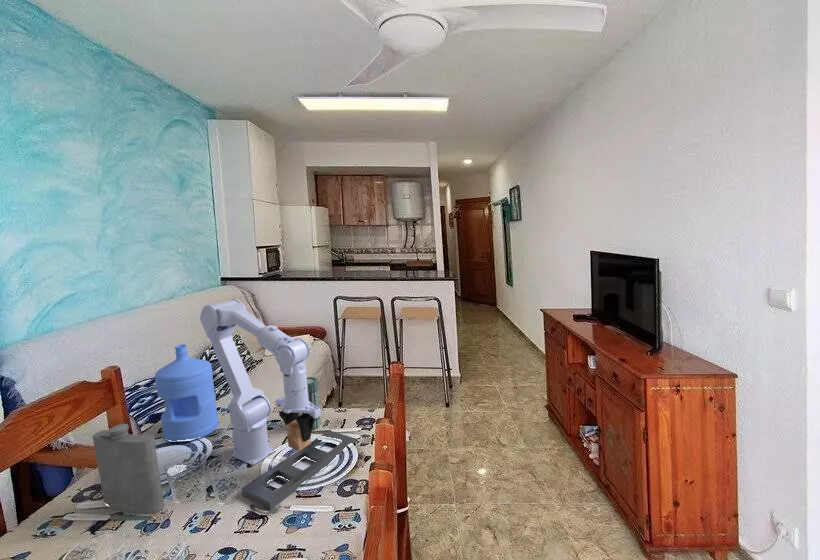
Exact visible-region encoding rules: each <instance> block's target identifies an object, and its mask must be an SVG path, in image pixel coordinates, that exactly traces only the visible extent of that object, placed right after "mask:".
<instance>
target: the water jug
mask: <svg viewBox="0 0 820 560" xmlns="http://www.w3.org/2000/svg"><path fill="white" fill-rule="evenodd" d="M174 349H175V358H176V359H175V360H173V361H171V362H170V363H168V364H166V365H165V366H163V367H161V368H159V369H158V370H157V371H156V372H155V373H154V384H155V388H156V394H157V397H158V398H160V399H161V400H163V401H164V406H165V410H164V411H163V413H162V414H161V416H160V418H161V419H160V420H161V427H162V437H163V439H164V440H165V439H167V440H171V441H177V440H186V439H193V438H198V437H202V438H205V437H206V436H208V435H210V434H211V433H213V432H214V431H215V430H216V429H217V427H218V426H219V423H220V421H219V416H218V410H217V402H216V400H217V398H216V396H217V395H216V392H215V386H214V385H215V384H214V377H213V376H214V374H213V367H212V363H211V362H210V361H208V360H205V359H198V358H194V357H189V356H188V350H187V344H177V345H175V346H174Z"/></svg>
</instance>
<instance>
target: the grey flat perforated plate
mask: <svg viewBox="0 0 820 560" xmlns="http://www.w3.org/2000/svg"><path fill="white" fill-rule="evenodd" d="M320 436H326V437H331V438H336V439H337V438H338V439H341V440H342V443H340V444H339V445H338V446H335V447H333V448H332V449H330V450H329V451H325V450H323V449H321V448H320V449H317V448H315V447H316V446H318V445H319V443H320V442H321V441H322V440H318V439H317V438H315V439H313V440H311V444H309V445H308V446H306V447H305V448H303V449H302V450H300V451H298V450H296V452H294V453H293V454H291V455H289V456H288V457H287V458H284V459H283V460H282V461H280V462H279V463H277V464H275V465H274V466H273V467H272V468H270V469H268V470H266V471H265V472H264V473H262V474H260V475H259V476H257V478H255V479H253V480H252V481H250V482H248V483H246V485H244V486H242V487H241V493H242V497H245V498H246V499H248V500H250V501H252V502H253V503H256V504H258V505H260V504H261V505H260V506H262V507H264V508H266V509H267V510H270V511H271V510H272V509H274V508H275V507H276V506H277V505H279V504H280V503H282V502H283V501H284V500H286V499H287V498H288V497H289V496H292V494H293V493H295V492H296V491H297V490H298V489H297V488H298V487H299V486H300V485H301V483H303V482H304V481H306V480H307V479H309V478H311V477H312V476H314V475H315V474H316V473H318V472H319V471H320V470H321V469H322V468H324V467H325V466H327V465H328V464H329V463H330V462H331V461H332V460H333V459H334V458H335V457H336V455H338V454H339V453H340V452H341V451H342V450H343V449H344V448H345V447H346V446H347V445H348V444H350V443H356V437H352V436H349V435H345V434H342V433H339V432H336V431H332V430H330V429H329V430H327V431H326V432H324V433H323V434H321V435H320ZM304 456H306V457H308V458H310V459H311V460H314V461H316V462H312V463H311V464H310V465H309V466H307V467H306V468H304V469H301V468H298V467H296V466H292V465H293V464H294V463H296V462H297V461H298V460H300V459H301V458H302V457H304ZM327 467H328V466H327ZM318 474H319V473H318ZM278 475H279V476H282V477H284V478H285V479H288V480H289V481H286V482H285V483H284V484H282V485H281V486H280V487H278V488H277V489H275V490H272V489H271V488H268V487H266V486H268V485H269V484H267V482H268V481H269V480H271V479H274V478H275V477H276V476H278ZM314 477H315V476H314ZM296 489H297V490H296Z"/></svg>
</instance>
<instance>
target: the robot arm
mask: <svg viewBox="0 0 820 560" xmlns="http://www.w3.org/2000/svg"><path fill="white" fill-rule="evenodd" d="M199 320H200V322H201V325H202V326H203V330H204V332H205V334H206V336H207V338H208V339H209V341H210V343H211V346H212V348H213V350H214V352H215V355H216V358H217V360H218V363H219V364H220V367H221V369H222V372H223V375H224V377H225V378H226V381H227V384H228V386H229V389H230V391H231V393H232V396H233V397H232V399H231V400H230V403H229V404H228V406H227V409H228V412H229V417H230V423H231V425H232V427H233V429H232V433H231V434H232V435H231V436H232V442H233V443H232V445H233V451H234V452H233V453H232V454H231V457H233V458H235V459H238V460H239V461H243V462H244V463H246V464H249V465H251V466H254V465H256V464H258V463H259V462H260V461H263V460H264V459H266V458H267V457H268V455H269V454H270V453H271V452H272V451H274V450H275V449H276V448H274V447H272V446H270V444H269V442H270V441H269V435H268V427H267V426H268V424H267V421H269V416H270V415H271V414H272V403H271V402H270V400H269V399H268V397H266V395H265V393H264V391H263V390H262V389H259V388H257V387H254V386H253V383H252V382H251V379H250V377H249V374H248V372H247V369H246V367H245V365H244V363H243V361H242V357H241V356H240V352H239V351H238V348H237V346H236V343H235V342H234V339H233V337H232V335H233V332H234V331H235V330H236V329H237V327H239V328H240V329H243V330H244V331H246V332H248V333H249V334H252V335H253V336H255V337H256V338H257V339H256V340H257V343H258V345H260V346H261V347H262V348H264V349H265V350H267V351H268V352H270V353H271V354H272V355H273V356H275V361H276V362H277V363H276V364H278V366H279V369H280V370H279V371H280V373H281V374H282V381H283V390H284V391H283V392H284V397H282V396H281V397H279V398H277V399H275V400H274V401H275V407H276V408H280V407H281V408H282V410H281V411H279V412H278V415H279V417H280V418H281V420H282V421H283V422H284V424H285V427H286V428H287V426H286V425H287V424H289V423H291V422H293V421H294V420H296V421H297V422H298V424H299V427H300V430H301V436H302V440H303V441H304V442H306V441H307V440H309V439H310V438H312V432H313V430H312V427H313V424H314V421H315V419H316V418H318V417H320V418H321V416H322V409H321V408H318V407H316V406H315V405H314V404H312V403H311V402H310V401H309V399H308V387H307V377H308V375H307V367H306V366H307V365H306V360H307V359H308V357H309V355H310V347H309V344H308V343H307V341H305V340H304V339H303V338H299V337H298V338H294V337H291V336H290V335H287V334H286V333H284V332H283V331H282V330H280V329H278V328H279V327H278V326H276V325H271V324H269V325H265V324H264V323H263V322H261V321H260V320H259V319H258V318H256V317H255V315H253V314H251V313H250V311H248V310H247V307H246V304H245V303H244V302H242V301H241V300H239V299H237V298H232V299H230V300H225V301H221V302H217V303H213V304H206V305H204V306H203V308H202V309H201V312H200V316H199ZM299 413H302V415H301V416H299ZM270 455H271V454H270ZM270 455H269V456H270Z"/></svg>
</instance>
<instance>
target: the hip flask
mask: <svg viewBox="0 0 820 560" xmlns="http://www.w3.org/2000/svg"><path fill="white" fill-rule="evenodd" d="M129 429H130V427H129V424H128V423H120V424H117V425H116V424H115V425H114V426H111V427H110V428H109V429H103V430H99V431H97V432H95V433H94V434H92V440H93V441H92V442H93V446H94V447H93V448H94V452H95V458H96V464H97V469H98V475H99V482H100V486H101V493H102V497H103V499H102V500H103V503H104V502H105V503H106V504H108V505H109V506H110V507H111V508H113V509H112V510H114V509H116V510H115V511H118V510H119V511H120V512H123V511H124V513H129V514H140V515H141V514H145V515H146V514H147V515H149V514H152V515H153V514H156V513H159V512H161V511H162V510H163V509H164V508H165V502H164V501H165V500H164V495H163V489H162V482H161V475H160V467H159V461H158V455H157V448H156V442H155V435H154V434H132V433H129ZM111 508H110V509H111ZM119 511H118V512H119Z"/></svg>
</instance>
